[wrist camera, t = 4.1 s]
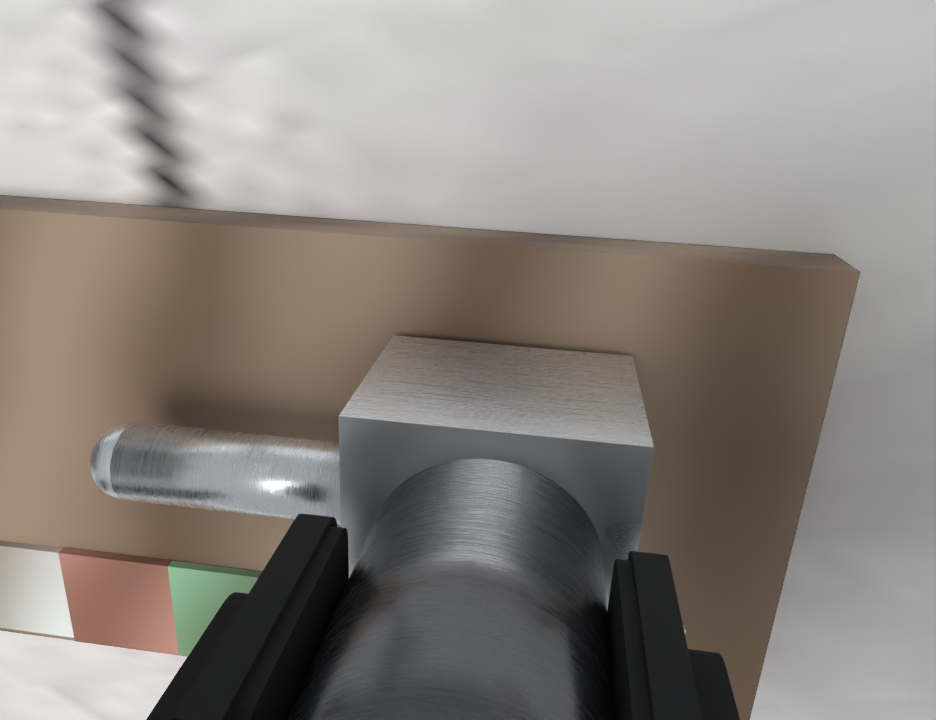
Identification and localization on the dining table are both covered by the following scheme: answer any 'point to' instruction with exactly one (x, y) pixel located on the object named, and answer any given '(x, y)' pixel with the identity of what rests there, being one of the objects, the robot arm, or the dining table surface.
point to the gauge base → (345, 366)
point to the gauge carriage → (442, 524)
